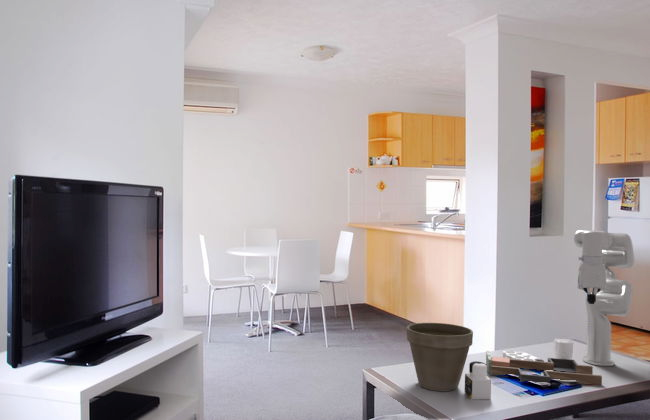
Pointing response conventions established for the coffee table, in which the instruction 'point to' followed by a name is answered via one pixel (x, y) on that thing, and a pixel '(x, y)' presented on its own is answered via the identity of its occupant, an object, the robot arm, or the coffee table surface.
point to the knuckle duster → (520, 356)
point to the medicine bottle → (478, 382)
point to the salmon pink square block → (500, 361)
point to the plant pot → (439, 353)
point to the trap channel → (577, 371)
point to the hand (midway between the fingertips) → (591, 303)
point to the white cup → (563, 348)
